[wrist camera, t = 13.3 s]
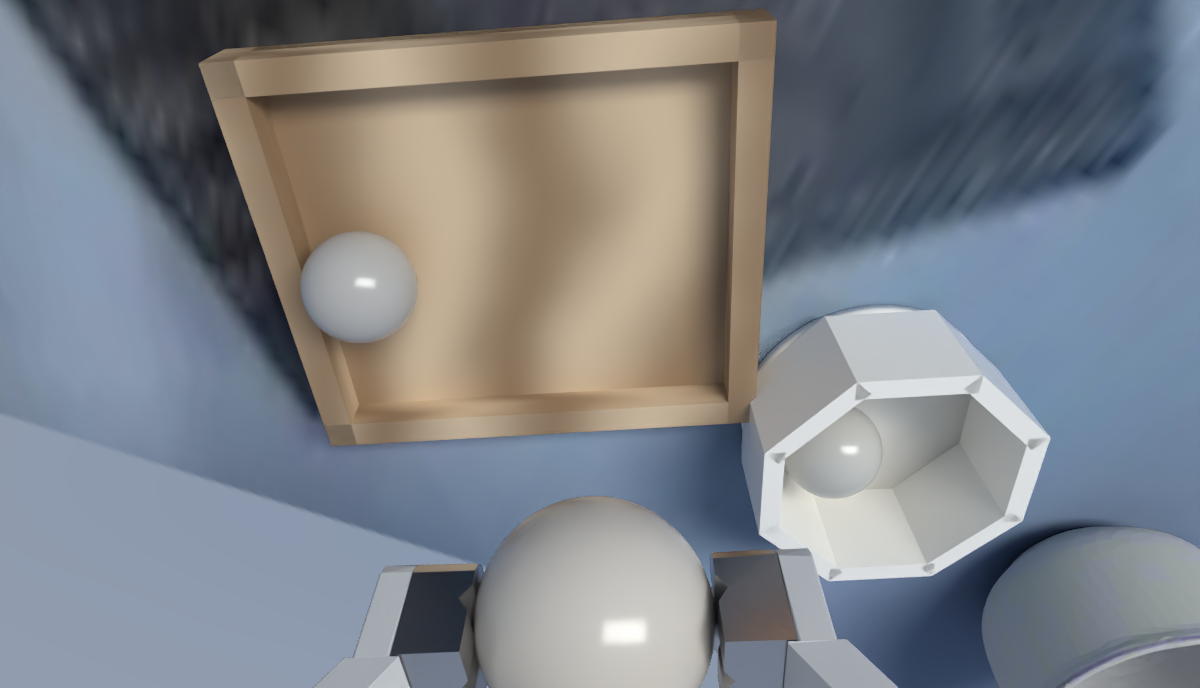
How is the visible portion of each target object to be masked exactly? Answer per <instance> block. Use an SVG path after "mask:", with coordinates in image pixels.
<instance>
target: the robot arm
mask: <svg viewBox="0 0 1200 688" xmlns="http://www.w3.org/2000/svg"><path fill="white" fill-rule="evenodd" d="M483 574H484V571H483V568H482V565H481V564H445V565H444V564H443V565H406V566H386V567H385V568H384V570H383V571H382V573H381V574H380V575H379V578H378V581H377V585H376V588H375V591H374V594H373V597H372V600H371V603H370V606H369V609H368V612H367V615H366V618H365V622H364V625H363V628H362V631H361V634H360V637H359V641H358V643H357V646H356V649H355V652H354V656H353V658H343V659H342V660H341V661H340V662H339V663H338V664H337V665H336V666H335V667H334V668H333V669H332V670H331V671H330V672H329V673H328V674H327V675H326V676H325V677H324V678H323V679H322V680H321V681H320V682H318V683H317V684H316V685H315V686H314V687H313V688H486V687H487V683H486V681H485V678H484V676H483V673H482V670H481V668H480V665H479V662H478V657H477V653H476V647H475V641H474V611H475V602H476V598H477V594H478V590H479V586H480V582H481V579H482V577H483ZM710 574H711V582H712V587H711V591H712V596H713V600H714V607H715V621H716V630H715V641H714V650H715V651H716V652H717V653H718V682H719V688H898V687H897V686H896V685H895V684H894V683H893V682H892V681H891V680H890V679H889V678H888V677H887V676H886V675H884V674H883V673H882V672H881V671H880V670H879V669H878V668H877V667H876V666H875V665H874V664H873V663H872V662H871V661H869V660H868V659H867V658H866V657H865V656H864V655H863V654H862V653H861V652H860V651H859V650H858V649H857V648H856V647H854V646H853V645H852V644H851V643H850V642H849V641H848V640H837V638H836V634H835V631H834V628H833V624H832V621H831V617H830V614H829V611H828V607H827V604H826V600H825V597H824V593H823V590H822V587H821V583H820V580H819V576H818V573H817V570H816V566H815V563H814V559H813V556H812V553H811V552H810V551H809V549H808V548H801V549H779V550H775V551H774V550H773V549H769V550H751V551H733V552H715V553H711V555H710Z"/></svg>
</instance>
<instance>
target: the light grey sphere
mask: <svg viewBox="0 0 1200 688" xmlns="http://www.w3.org/2000/svg"><path fill="white" fill-rule="evenodd" d="M882 456H883V447H882V441H881V437H880V435H879V432H878V430H877V428H876V427H875V425H874V423H873V422H872V421H871V420H870V419H869V417H868V416H867V415H866V414H864V413H863V412H862V411H860V410H859V409H857V408H855V407H853V408H852V409H851V410H849V411H848V412H847V413H845V414H844V415H843V416H842V417H840V418H839V419H838V420H836V421H835V422H834V423H832V424H831V425H830V426H828V427H827V428H826V429H824V430H823V431H822V432H820V433H819V434H818V435H816V436H815V437H814V438H812V439H811V440H810V441H808V442H807V443H806V444H804V445H803V446H802V447H800V448H799V449H798V450H796V451H795V452H794V453H792V454H791V455H790V456H788V457H787V458H786V459H785V467H786V469H787V471H788V473H789V475H790V476H791V477H792V479H793V480H794V481H795V482H796V483H797V484H798V485H799V486H800V487H801V488H803V489H804V490H806V491H807V492H809V493H811V494H813V495H816V496H819V497H822V498H828V499H840V498H846V497H849V496H852V495H855V494H857V493H859V492H860V491H862V490H864V489H865V488H866V487H867V486H868V485H869V484H870V483H871V482H872V481H873V480H874V478H875V477H876V475H877V473H878V471H879V469H880V466H881V463H882Z"/></svg>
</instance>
